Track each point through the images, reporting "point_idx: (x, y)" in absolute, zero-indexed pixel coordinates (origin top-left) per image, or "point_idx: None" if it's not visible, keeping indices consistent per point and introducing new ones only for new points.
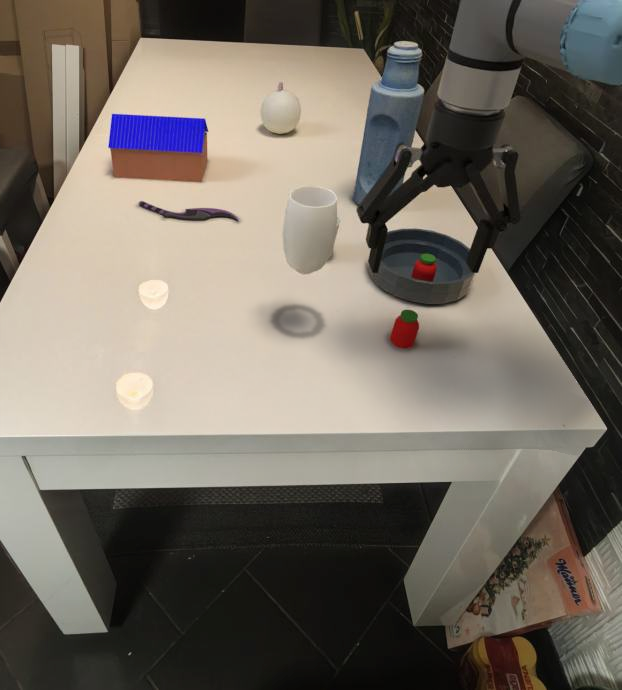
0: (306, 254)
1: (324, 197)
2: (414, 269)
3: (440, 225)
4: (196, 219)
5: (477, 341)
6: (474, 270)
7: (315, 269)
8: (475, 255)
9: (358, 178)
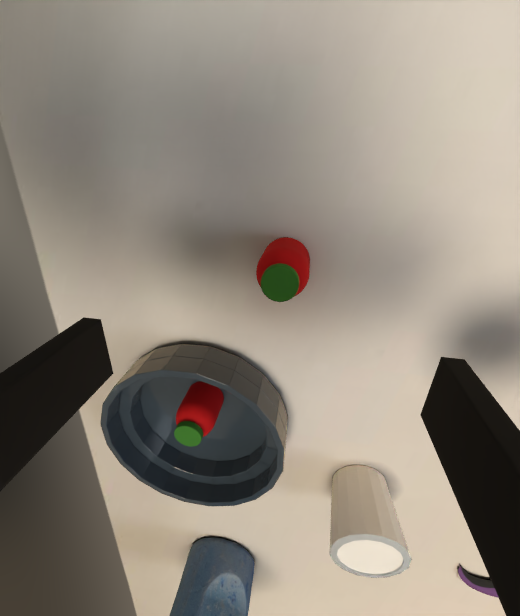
0: None
1: None
2: (215, 418)
3: (143, 498)
4: None
5: (144, 246)
6: (91, 323)
7: None
8: (65, 369)
9: (247, 608)
